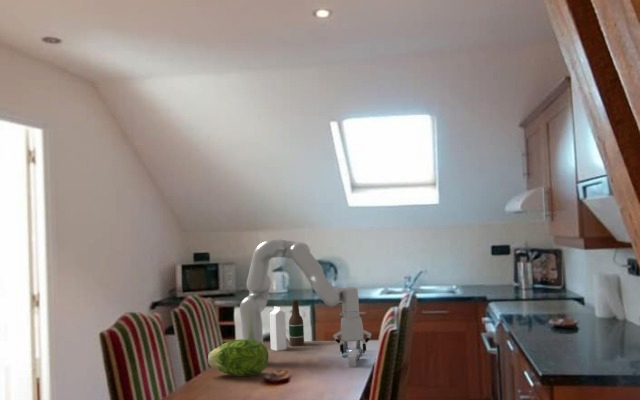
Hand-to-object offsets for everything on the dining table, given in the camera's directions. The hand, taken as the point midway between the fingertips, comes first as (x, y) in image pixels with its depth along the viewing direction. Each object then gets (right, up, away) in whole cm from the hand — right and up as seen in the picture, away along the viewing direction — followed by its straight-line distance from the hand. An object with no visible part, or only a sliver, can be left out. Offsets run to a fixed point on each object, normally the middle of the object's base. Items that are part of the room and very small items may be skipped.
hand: (353, 352), depth 266 cm
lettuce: (-50, -7, -14) cm, 52 cm away
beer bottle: (-27, -9, +49) cm, 56 cm away
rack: (+1, -6, +22) cm, 23 cm away
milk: (-37, -9, +39) cm, 54 cm away
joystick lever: (0, -5, +2) cm, 5 cm away
